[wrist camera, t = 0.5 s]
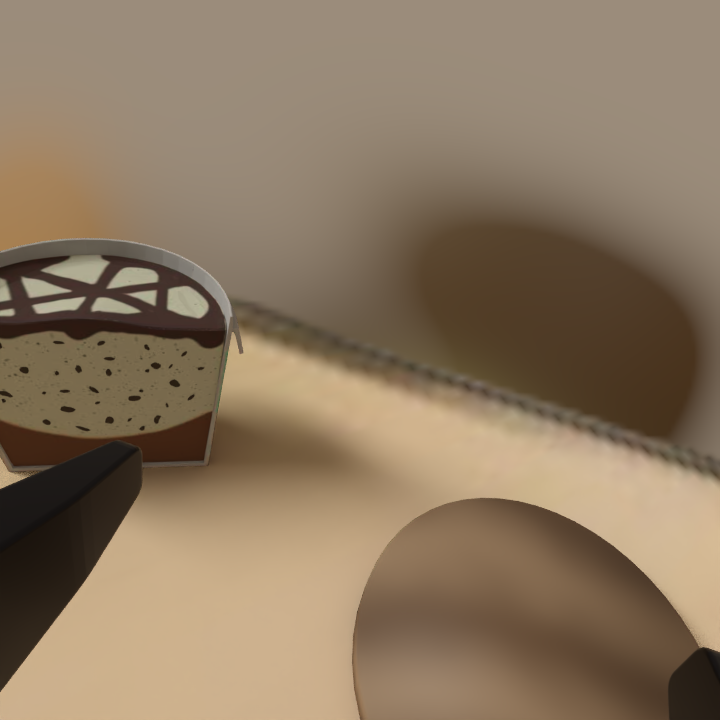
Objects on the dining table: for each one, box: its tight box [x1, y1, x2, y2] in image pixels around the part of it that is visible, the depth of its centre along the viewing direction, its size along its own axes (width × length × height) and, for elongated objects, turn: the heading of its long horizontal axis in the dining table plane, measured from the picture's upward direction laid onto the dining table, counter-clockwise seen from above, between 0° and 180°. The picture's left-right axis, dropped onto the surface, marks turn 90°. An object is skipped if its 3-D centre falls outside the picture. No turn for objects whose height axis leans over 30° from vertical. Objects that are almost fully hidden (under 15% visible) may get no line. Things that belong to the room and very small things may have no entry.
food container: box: [0, 238, 243, 472], centre depth 27 cm, size 12×6×10 cm, turn 100°
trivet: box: [352, 498, 699, 720], centre depth 24 cm, size 16×16×1 cm
